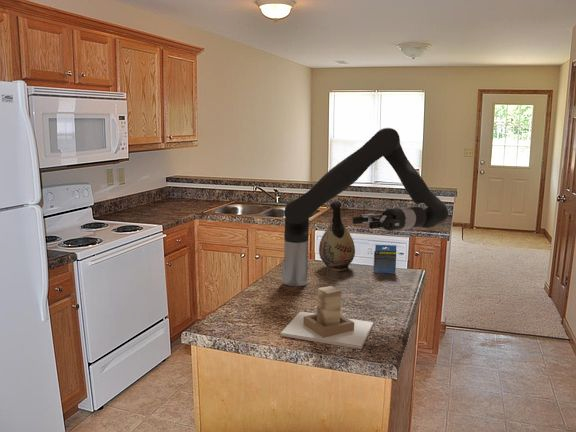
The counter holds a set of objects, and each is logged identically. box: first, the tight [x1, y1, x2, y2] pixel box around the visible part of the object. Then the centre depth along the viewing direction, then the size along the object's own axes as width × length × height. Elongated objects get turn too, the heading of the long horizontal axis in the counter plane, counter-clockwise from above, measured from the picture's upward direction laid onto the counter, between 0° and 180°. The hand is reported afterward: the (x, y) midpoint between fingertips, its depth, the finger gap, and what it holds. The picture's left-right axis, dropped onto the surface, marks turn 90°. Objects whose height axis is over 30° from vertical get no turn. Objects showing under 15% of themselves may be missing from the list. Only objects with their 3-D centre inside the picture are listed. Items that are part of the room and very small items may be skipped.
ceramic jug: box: [318, 200, 356, 272], centre depth 214 cm, size 17×15×30 cm
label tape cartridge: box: [372, 244, 397, 275], centre depth 212 cm, size 9×4×12 cm, turn 85°
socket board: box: [280, 311, 374, 350], centre depth 153 cm, size 24×18×4 cm
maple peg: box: [316, 285, 342, 327], centre depth 152 cm, size 5×5×12 cm
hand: (361, 223), depth 164 cm, fingers open, 8 cm apart
